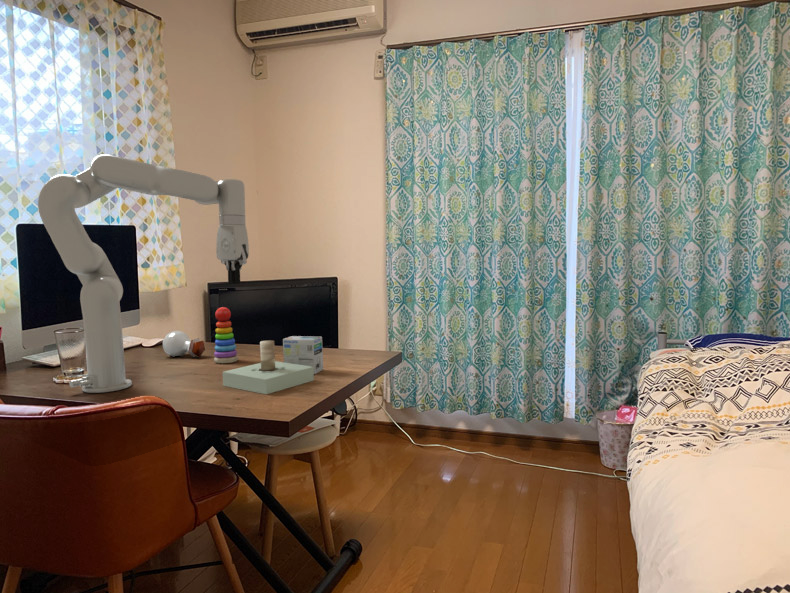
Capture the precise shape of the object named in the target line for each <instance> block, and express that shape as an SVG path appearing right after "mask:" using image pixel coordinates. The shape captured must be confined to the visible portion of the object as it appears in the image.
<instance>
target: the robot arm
mask: <svg viewBox="0 0 790 593" xmlns="http://www.w3.org/2000/svg"><path fill="white" fill-rule="evenodd" d="M116 189H121V190H126V191H130V192H136V193H140V194H146V195H149V196H171V197H176V198H182V199H186V200H190V201H194V202H196V203H197V204H199V205H202V206H210V205H216V204H217V205H218V220H219V222H218V223H219V226H218V227H217V233H216V243H215V244H216V245H215V247H216V249H215V250H216V255H215V256H216V259H217V260H220V264H222V265H225V269H226V271H227V283H228V284H229V285H238V284H239V285H240V284H241V270H242V266H243V265H247V259H248V258H249V257H250V255H249V254H250V248H249V247H250V246H249V236H248V230H247V226H246V197H245V196H246V194H245V193H246V192H245V183H244V182H243V181H242V180H240V179H233V178H228V179H222V180H221V179H220V180H219V181H217V180H214V179H213V178H212V177H210V176H207V175H204V174H200V173H196V172H191V171H186V170H183V169H177V168H172V167H171V168H170V167H167V166H162V165H158V164H154V163H153V164H152V163H147V162H143V161H138V160H134V159H131V158H125V157H122V156H117V155H112V154H105V153H104V154H100V155H97V156H95V157H94V158H93V159H92V161H91V163H90V167H89V168H87V169H85V170H83V171H82V172H80V173H78V174H76V175H72V174H67V173H63V174H61V173H60V174H57V175H55V176H53V177H51V178H49V179H48V181H46V183H45V184H44V185H43V186H42V188H41V190H40V192H39V195H38V198H37V199H38V200H37V208H38V214H39V216H40V219H41V221H42V224H43V225H44V227H45V229H46V232H47V233H48V235H49V236H50V239H51V241H52V243H53V245H54V247H55V249H56V251H57V252H58V254H59V255H60V258H61V260H62V263H63V264H64V266H65V268H66V269H67V270H68V271H69V272H71V273H72V274H74V275H76V276H77V277H78V280H79V281H80V283H81V284H82V287H81V290H80V297H79V300H80V301H79V302H80V307H81V314H82V321H83V322H82V323H83V331H84V332H83V334H84V342H85V343H84V344H85V355H86V356H85V357H86V358H85V359H86V373H84V374H83V376H82V377H81V378H79V379H78V378H77V379H72V380H69V382H68V384H69V387H70V388H75V387H79V388H80V387H81V389H82V391H83V392H84V393H89V394H90V393H92V394H94V393H95V394H96V393H97V394H98V393H99V394H100V393H109V392H110V393H111V392H115V391H121V390H124V389H127V388H129V387H131V386H132V385H133V383H132V380H131V379H130V378H129V379H128V378H127V377H126V368H125V367H126V366H125V365H126V364H125V353H124V349H125V348H124V340H123V339H124V337H123V336H124V335H123V325H122V324H123V323H122V322H123V321H122V315H121V314H122V313H121V306H120V301H121V300H122V297H123V296H124V295H123V294H124V288H123V284H122V282H121V280H120V278H119V276H118V274H117V273H116V271H115V270H114V268H113V265H112V263H111V261H110V260H109V258H108V256H107V254H106V253H105V251H104V250H103V248H102V247H101V246H99V244H97V243H95V242H93V241H92V240H91V238H90V237H89V234H88V233H87V231H86V230H85V227H84V225H83V222H82V221H81V220H80V218H79V217H78V215H77V211H76V209H80V208H83V207H85V206H88V205H89V204H91V203H93V202H95V201H97V200H99V199H100V198H103V197H104V196H106V195H108V194H110V193H112V192H113V191H115V190H116Z"/></svg>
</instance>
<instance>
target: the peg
mask: <svg viewBox="0 0 790 593" xmlns="http://www.w3.org/2000/svg"><path fill="white" fill-rule="evenodd" d="M259 351H260V354H259V355H260V363H261V371H263V372H265V371H274V370H276V368H275V361H276V352H275V351H276V348H275V340H271V339H269V340H261V341H260V342H259Z"/></svg>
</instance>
